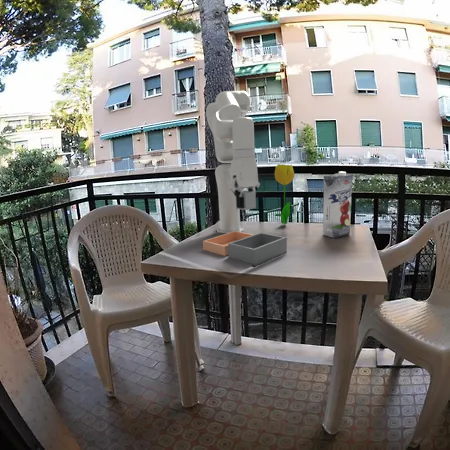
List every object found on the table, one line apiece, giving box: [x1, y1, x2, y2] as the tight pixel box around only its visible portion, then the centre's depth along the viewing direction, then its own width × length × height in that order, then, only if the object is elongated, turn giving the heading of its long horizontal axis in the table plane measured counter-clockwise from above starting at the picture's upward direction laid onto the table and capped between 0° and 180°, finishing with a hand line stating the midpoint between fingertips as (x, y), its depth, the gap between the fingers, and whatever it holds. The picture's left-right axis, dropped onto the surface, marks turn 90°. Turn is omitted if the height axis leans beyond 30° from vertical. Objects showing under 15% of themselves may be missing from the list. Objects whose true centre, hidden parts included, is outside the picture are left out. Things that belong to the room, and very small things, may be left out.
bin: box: [228, 232, 288, 268], centre depth 115 cm, size 12×18×6 cm, turn 134°
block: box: [236, 190, 257, 211], centre depth 114 cm, size 5×5×6 cm
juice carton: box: [322, 170, 354, 239], centre depth 133 cm, size 9×10×27 cm
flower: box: [274, 163, 295, 225], centre depth 154 cm, size 9×8×30 cm
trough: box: [202, 231, 254, 257], centre depth 125 cm, size 12×18×4 cm, turn 134°
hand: (246, 206), depth 114 cm, fingers closed on block, 5 cm apart
